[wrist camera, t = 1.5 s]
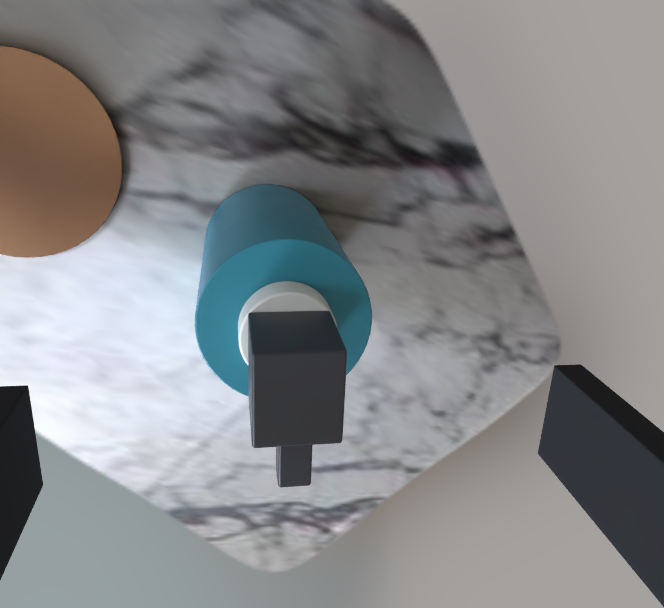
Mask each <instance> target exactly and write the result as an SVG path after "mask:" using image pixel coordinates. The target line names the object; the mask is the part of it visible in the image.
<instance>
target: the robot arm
mask: <svg viewBox="0 0 664 608" xmlns="http://www.w3.org/2000/svg"><path fill="white" fill-rule="evenodd" d="M538 454H539V455H540V457H541V458H542V459H543V460H544V461H545V463H546V464H547V465H548V466H549V468H550V469H551V470H552V471H553V472H554V474H555V475H556V476H557V477H558V479H559V480H560V481H561V482H562V483H563V485H564V486H565V487H566V488H567V489H568V491H569V492H570V493H571V494H572V496H573V497H574V498H575V499H576V501H577V502H578V503H579V504H580V505H581V507H582V508H583V509H584V510H585V511H586V513H587V514H588V515H589V516H590V518H591V519H592V520H593V521H594V522H595V524H596V525H597V526H598V527H599V528H600V530H601V531H602V532H603V533H604V535H605V536H606V537H607V538H608V539H609V541H610V542H611V543H612V544H613V546H614V547H615V548H616V549H617V550H618V552H619V553H620V554H621V555H622V557H623V558H624V559H625V560H626V561H627V563H628V564H629V565H630V566H631V567H632V569H633V570H634V571H635V572H636V574H637V575H638V576H639V577H640V579H641V580H642V581H643V582H644V583H645V585H646V586H647V587H648V588H649V589H650V591H651V592H652V593H653V594H654V596H655V597H656V598H657V599H658V600H659V602H660V603H661V604H662V605H663V607H664V432H663V431H661V430H660V429H659V428H658V427H656V426H655V425H654V424H653V423H651V422H650V421H649V420H648V419H647V418H645V417H644V416H643V415H642V414H641V413H639V412H638V411H637V410H636V409H634V408H633V407H632V406H631V405H630V404H628V403H627V402H626V401H625V400H623V399H622V398H621V397H620V396H619V395H617V394H616V393H615V392H614V391H612V390H611V389H610V388H609V387H607V386H606V385H605V384H604V383H603V382H601V381H600V380H599V379H598V378H597V377H595V376H594V375H593V374H592V373H591V372H589V371H588V370H587V369H585V368H584V367H583V366H582V365H557V366H554V371H553V376H552V381H551V387H550V392H549V397H548V402H547V408H546V413H545V418H544V424H543V429H542V434H541V440H540V445H539V450H538ZM42 486H43V481H42V475H41V468H40V462H39V455H38V449H37V442H36V435H35V429H34V422H33V416H32V409H31V403H30V396H29V390H28V386H4V387H0V579H1V577H2V575H3V573H4V570H5V568H6V566H7V564H8V562H9V559H10V557H11V555H12V553H13V551H14V548H15V546H16V544H17V542H18V540H19V537H20V535H21V533H22V531H23V528H24V526H25V524H26V522H27V520H28V517H29V515H30V513H31V511H32V508H33V506H34V504H35V502H36V500H37V497H38V495H39V493H40V491H41V488H42Z"/></svg>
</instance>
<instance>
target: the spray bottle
mask: <svg viewBox="0 0 664 608" xmlns="http://www.w3.org/2000/svg"><path fill="white" fill-rule="evenodd" d="M371 324H372V310H371V303H370V298H369V295H368V291H367V289H366V287H365V285H364V282H363V281H362V279H361V277H360V276H359V274H358V273H357V271H356V269H355V268H354V266H353V265H352V263H351V262H350V260H349V259H348V257H347V256H346V254H345V252H344V251H343V249H342V248H341V246H340V245H339V243H338V242H337V240H336V238H335V237H334V235H333V234H332V232H331V231H330V229H329V228H328V226H327V225H326V223H325V221H324V220H323V218H322V217H321V215H320V214H319V212H318V211H317V209H316V208H315V207H314V206H313V204H312V203H311V202H310V201H309V200H308V199H306V198H305V197H304V196H302V195H301V194H299V193H298V192H296V191H294V190H292V189H289V188H286V187H283V186H278V185H270V184H263V185H255V186H250V187H247V188H244V189H242V190H240V191H237V192H235V193H234V194H232V195H231V196H229V197H228V198H227V199H226V200H225V201H223V202H222V203H221V204H220V206H219V207H218V208H217V209H216V211H215V212H214V214H213V215H212V217H211V219H210V221H209V224H208V227H207V230H206V236H205V243H204V251H203V259H202V267H201V275H200V282H199V290H198V298H197V306H196V314H195V331H196V338H197V342H198V346H199V349H200V351H201V353H202V356H203V358H204V360H205V361H206V363H207V364H208V366H209V367H210V369H211V370H212V371H213V372H214V374H215V375H216V376H217V377H218V378H219V379H220V380H222V381H223V382H224V383H225V384H227V385H228V386H229V387H231V388H232V389H234V390H236V391H238V392H240V393H242V394H244V395H247V396H249V409H250V423H251V438H252V446H253V447H254V448H263V447H276V471H277V479H278V485H279V487H293V486H307V485H310V483H311V465H312V445H314V444H332V443H341V442H342V435H343V418H344V400H345V383H346V375H347V374H348V373H349V372H350V371H351V370H352V368H353V367H354V366H355V365H356V363H357V362H358V360H359V359H360V357H361V355H362V354H363V352H364V349H365V347H366V345H367V342H368V339H369V335H370V331H371Z"/></svg>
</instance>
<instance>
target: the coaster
mask: <svg viewBox="0 0 664 608" xmlns="http://www.w3.org/2000/svg"><path fill="white" fill-rule="evenodd" d="M122 173H123V169H122V154H121V147H120V143H119V140H118V136H117V133H116V130H115V128H114V125H113V123H112V121H111V119H110V117H109V115H108V113H107V112H106V110H105V108H104V106H103V105H102V104H101V102H100V101H99V100H98V98H97V97H96V96H95V94H94V93H93V92H92V91H91V90H90V89H89V88H88V87H87V86H86V85H85V84H84V83H83V82H82V81H81V80H80V79H79V78H78V77H76V76H75V75H74V74H73V73H72V72H70V71H69V70H67V69H66V68H64V67H63V66H61V65H60V64H58V63H56V62H54V61H52V60H50V59H48V58H46V57H44V56H42V55H39V54H36V53H34V52H31V51H27V50H23V49H19V48H15V47H7V46H0V254H1V255H7V256H13V257H42V256H47V255H53V254H56V253H60V252H63V251H66V250H68V249H70V248H72V247H74V246H76V245H78V244H80V243H81V242H83V241H85V240H86V239H88V238H89V237H90V236H91V235H92V234H93V233H95V232H96V231H97V230H98V229H99V228H100V226H101V225H102V224H103V223H104V222H105V221H106V219H107V218H108V216H109V214H110V213H111V211H112V210H113V207H114V205H115V203H116V200H117V198H118V195H119V191H120V187H121V181H122Z"/></svg>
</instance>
